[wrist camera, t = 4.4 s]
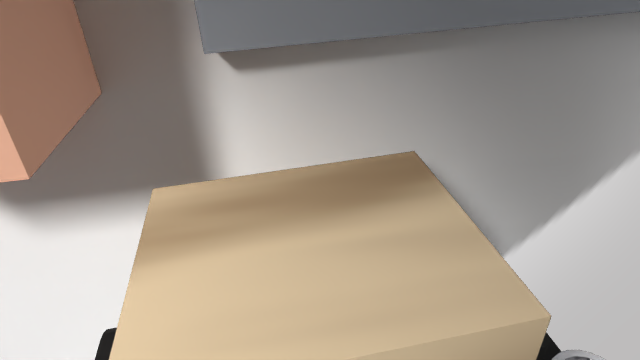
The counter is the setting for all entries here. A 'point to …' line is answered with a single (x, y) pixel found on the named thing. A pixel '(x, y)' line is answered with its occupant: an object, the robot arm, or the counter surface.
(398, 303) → the oak brick
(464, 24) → the baseplate
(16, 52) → the terracotta brick
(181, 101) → the counter surface
